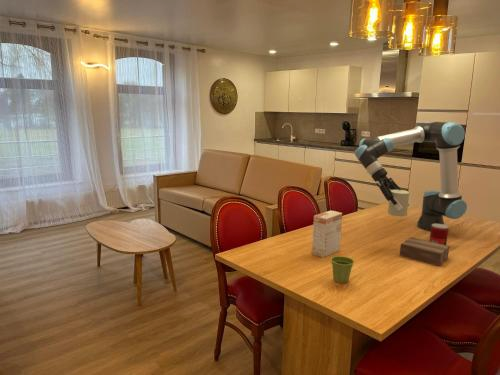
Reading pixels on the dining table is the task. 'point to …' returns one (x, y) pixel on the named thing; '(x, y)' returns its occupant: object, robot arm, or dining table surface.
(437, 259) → the walnut riser
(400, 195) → the can
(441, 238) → the canned food
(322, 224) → the coffeecake box
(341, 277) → the plant pot
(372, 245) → the dining table surface
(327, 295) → the dining table surface
